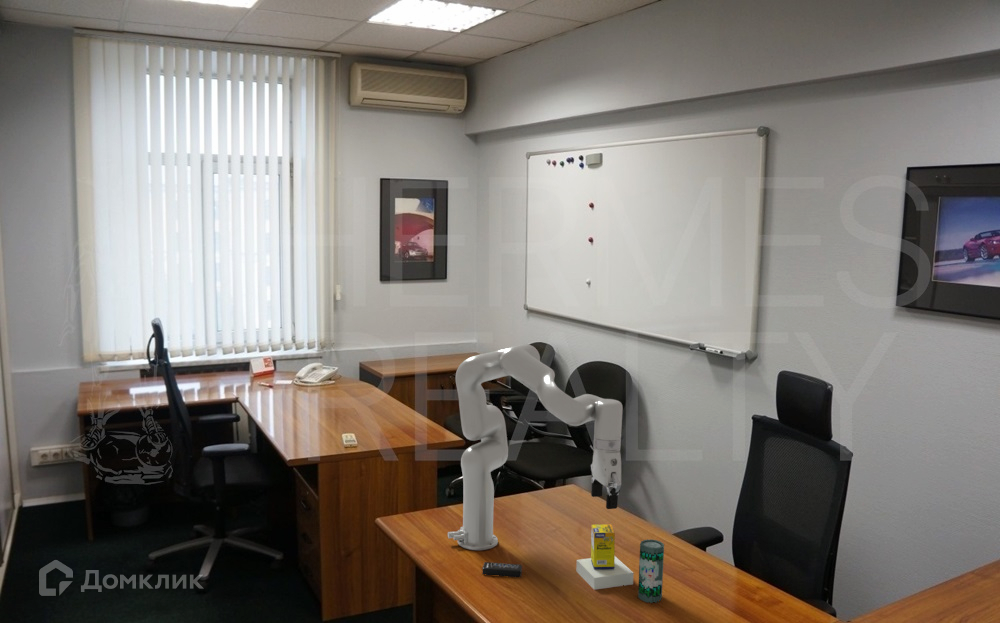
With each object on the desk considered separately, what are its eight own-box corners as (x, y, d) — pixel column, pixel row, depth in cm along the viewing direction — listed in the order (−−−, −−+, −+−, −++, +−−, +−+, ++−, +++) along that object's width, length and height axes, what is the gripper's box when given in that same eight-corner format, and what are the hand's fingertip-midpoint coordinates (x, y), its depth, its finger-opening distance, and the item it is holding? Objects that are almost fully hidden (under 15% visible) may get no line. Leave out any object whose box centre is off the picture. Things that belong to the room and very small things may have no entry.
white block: (594, 591, 211) (594, 577, 211) (576, 573, 223) (576, 559, 222) (632, 586, 215) (633, 572, 215) (613, 568, 226) (614, 555, 226)
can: (636, 600, 206) (638, 546, 204) (640, 590, 211) (642, 538, 210) (659, 604, 204) (661, 550, 202) (662, 594, 209) (665, 541, 208)
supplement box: (615, 569, 216) (615, 532, 215) (593, 569, 216) (593, 532, 214) (611, 559, 222) (611, 523, 220) (590, 560, 222) (590, 524, 220)
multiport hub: (520, 578, 218) (520, 571, 217) (482, 575, 219) (482, 568, 219) (521, 572, 222) (522, 564, 222) (484, 569, 223) (484, 561, 223)
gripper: (633, 451, 208) (629, 512, 210) (605, 434, 225) (602, 490, 227) (608, 453, 206) (605, 514, 208) (582, 435, 223) (579, 492, 224)
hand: (603, 502), depth 217 cm, fingers open, 9 cm apart
